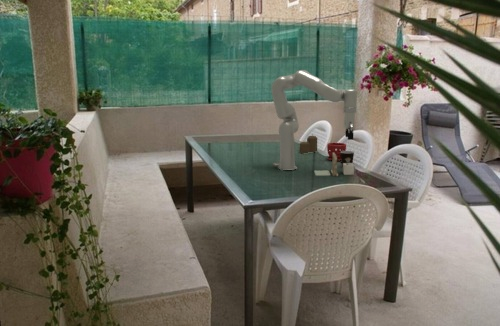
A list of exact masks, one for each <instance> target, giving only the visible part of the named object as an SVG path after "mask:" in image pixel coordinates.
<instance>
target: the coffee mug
mask: <svg viewBox="0 0 500 326" xmlns="http://www.w3.org/2000/svg"><path fill="white" fill-rule="evenodd" d="M336 155H340V154H336ZM354 155H355V152H354V151H353V150H352V151H351V150H346V151H341V155H340V157H341V160H342V161H339V160H337V162H339V163H340V164H341V168H343V163H353V164H354V157H355V156H354Z"/></svg>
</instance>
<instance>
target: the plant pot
mask: <svg viewBox="0 0 500 326" xmlns="http://www.w3.org/2000/svg"><path fill="white" fill-rule="evenodd" d="M326 145H327V146H326V150H327V155H328V157H327V159H328V160H329V161H331V160H332V156H333V153H335V154H340V155H341V151H347V144H346V143H344V142H328V143H327V144H326ZM340 155H336V156H337V160H339V161H340V160H341V157H340ZM339 161H338V162H339ZM340 162H341V161H340Z"/></svg>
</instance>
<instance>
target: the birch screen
mask: <svg viewBox="0 0 500 326" xmlns="http://www.w3.org/2000/svg"><path fill="white" fill-rule="evenodd" d="M331 162H332V163H331V164H332V168H331V169H330V172H331V173H330V174H331V175H332V176H333V177H338V176H339V173H338V161H337V156H336V154H335V153H333V156H332V161H331Z"/></svg>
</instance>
